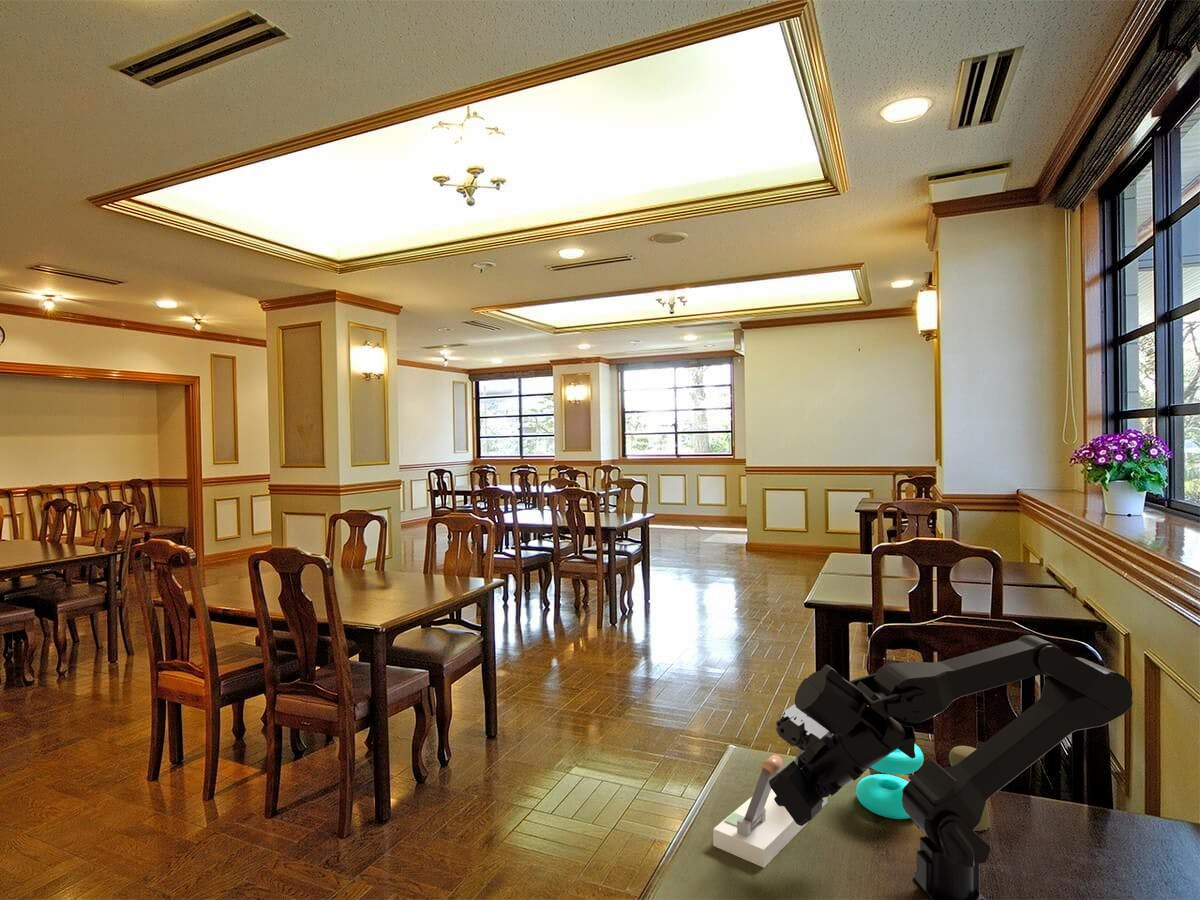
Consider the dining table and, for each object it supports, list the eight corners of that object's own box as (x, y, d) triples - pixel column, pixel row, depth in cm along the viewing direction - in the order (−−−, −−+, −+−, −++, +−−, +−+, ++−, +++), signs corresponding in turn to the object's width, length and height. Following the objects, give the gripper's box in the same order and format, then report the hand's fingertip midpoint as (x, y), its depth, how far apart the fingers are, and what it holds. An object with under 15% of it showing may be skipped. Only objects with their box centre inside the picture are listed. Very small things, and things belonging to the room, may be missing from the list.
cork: (996, 833, 102) (996, 760, 102) (952, 829, 104) (952, 756, 103) (982, 812, 108) (982, 742, 108) (941, 808, 109) (941, 739, 109)
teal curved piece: (918, 734, 114) (928, 761, 104) (918, 794, 114) (928, 827, 104) (854, 727, 117) (858, 753, 107) (854, 786, 117) (858, 817, 107)
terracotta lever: (760, 824, 101) (785, 760, 98) (750, 833, 99) (775, 768, 96) (749, 815, 102) (772, 751, 99) (739, 824, 100) (763, 759, 97)
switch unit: (827, 802, 111) (827, 776, 111) (763, 867, 95) (763, 836, 94) (781, 786, 116) (781, 761, 116) (713, 845, 100) (713, 816, 100)
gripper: (839, 674, 101) (769, 729, 108) (784, 714, 86) (707, 774, 94) (895, 743, 96) (818, 795, 103) (846, 797, 81) (761, 853, 89)
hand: (777, 801), depth 97 cm, fingers closed
